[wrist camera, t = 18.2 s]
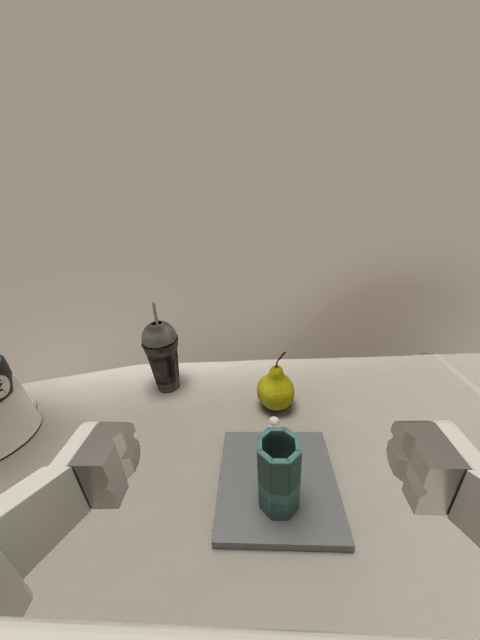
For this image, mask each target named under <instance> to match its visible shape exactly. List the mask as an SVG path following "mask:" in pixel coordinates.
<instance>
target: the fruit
mask: <svg viewBox="0 0 480 640" xmlns="http://www.w3.org/2000/svg"><path fill="white" fill-rule="evenodd" d="M285 353H286V352H284V353H283V354H282V355H281V356H280V358H279V359H278V361H279V360H280V359H281V358H282V356H283V355H284V354H285ZM278 361H277V363H278ZM277 363H276V366H273V367H272V368H271V369H270V372H269V374H267V375H265V376H263V377H262V378H261V379H260V380H259V382H258V387H257V395H258V398H259V400H260V401H261V403H262V404H263V405H264V406H265V407H267V408H268V409H270V410H283V409H285V408H287V407H288V406H290V404H291V403H292V401H293V398H294V387H293V384H292V382H291V380H290V379H289V378H288V377H287V376H285V375H284V373H283V370H282V368H281V367H280V366H278V365H277Z"/></svg>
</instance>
